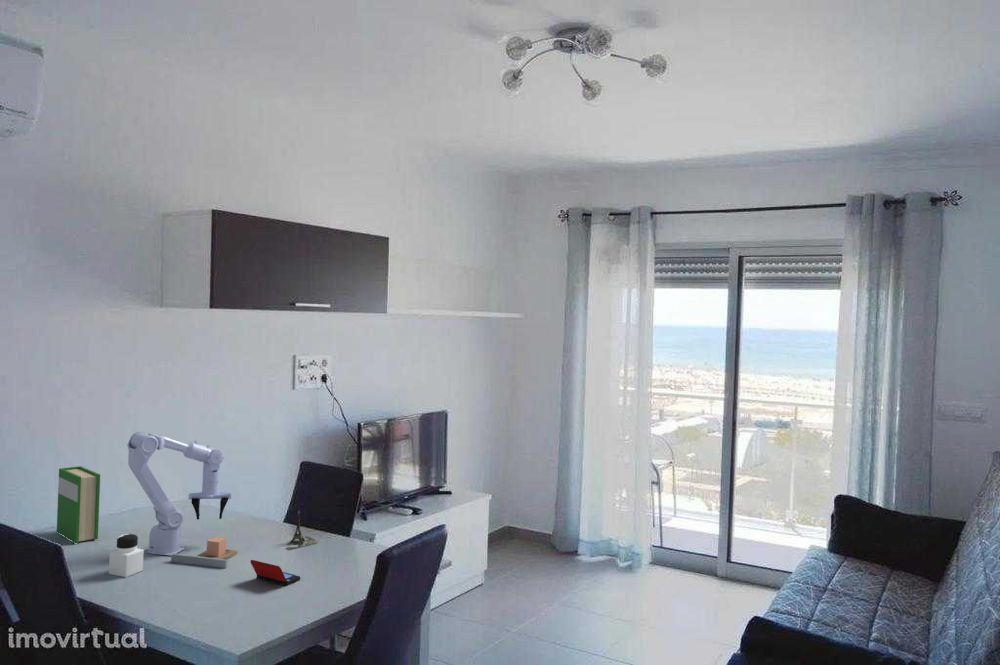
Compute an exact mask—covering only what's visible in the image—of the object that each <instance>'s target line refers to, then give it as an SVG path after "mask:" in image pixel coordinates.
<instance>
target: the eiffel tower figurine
mask: <svg viewBox="0 0 1000 665" xmlns="http://www.w3.org/2000/svg"><path fill="white" fill-rule="evenodd" d="M318 542H319V541H318V540H316V539H315V538H313V537H310V536H307V535H305V536H303V533H302V531H301V523H300V510H298V512H297V522H296V528H295V532H294V534H293V537H292V539H291V540H290V541H289V544H288V545H289V546H288V547H285V548H284V549H285V550H288V551H289V550H295V549H299V548H304V547H307V546H312V545H316V544H318Z"/></svg>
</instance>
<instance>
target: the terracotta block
mask: <svg viewBox="0 0 1000 665" xmlns="http://www.w3.org/2000/svg"><path fill="white" fill-rule="evenodd" d="M226 549H227V538H224V537H217V536H216V537H215V536H214V537H213V538H212V537H211V538H210V539H207V541H206V551H207V555H209V556H217V557H219V556H221V555H222V554H224V553H226Z"/></svg>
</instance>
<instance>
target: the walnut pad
mask: <svg viewBox="0 0 1000 665" xmlns="http://www.w3.org/2000/svg"><path fill="white" fill-rule="evenodd" d="M237 554H238V550H235V549H227V548H226V553H224V554H222V555H221V556H219V557H217V556H209V555H207V550H205V551H203V552H201V553H200V554H198V555H196V556H200V557H208V558H217V559H225V560H229V559H231V558H232V557H234V556H236V555H237Z"/></svg>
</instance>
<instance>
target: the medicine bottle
mask: <svg viewBox="0 0 1000 665" xmlns="http://www.w3.org/2000/svg"><path fill="white" fill-rule="evenodd" d="M138 539H139V537H138V535H137V534H133V533H126V534H125V533H124V534H121V535H119V536H118V537H117V538H116V548H115V550H112V551H110V552H109V560H108V561H109V562H108V563H109V564H108V574H109V575H112V576H118V577H122V578H128V577H131V576H133V575H136V574H139V573H141V572H142V571H143V570H144V549H143V548H138V542H139V540H138Z"/></svg>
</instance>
